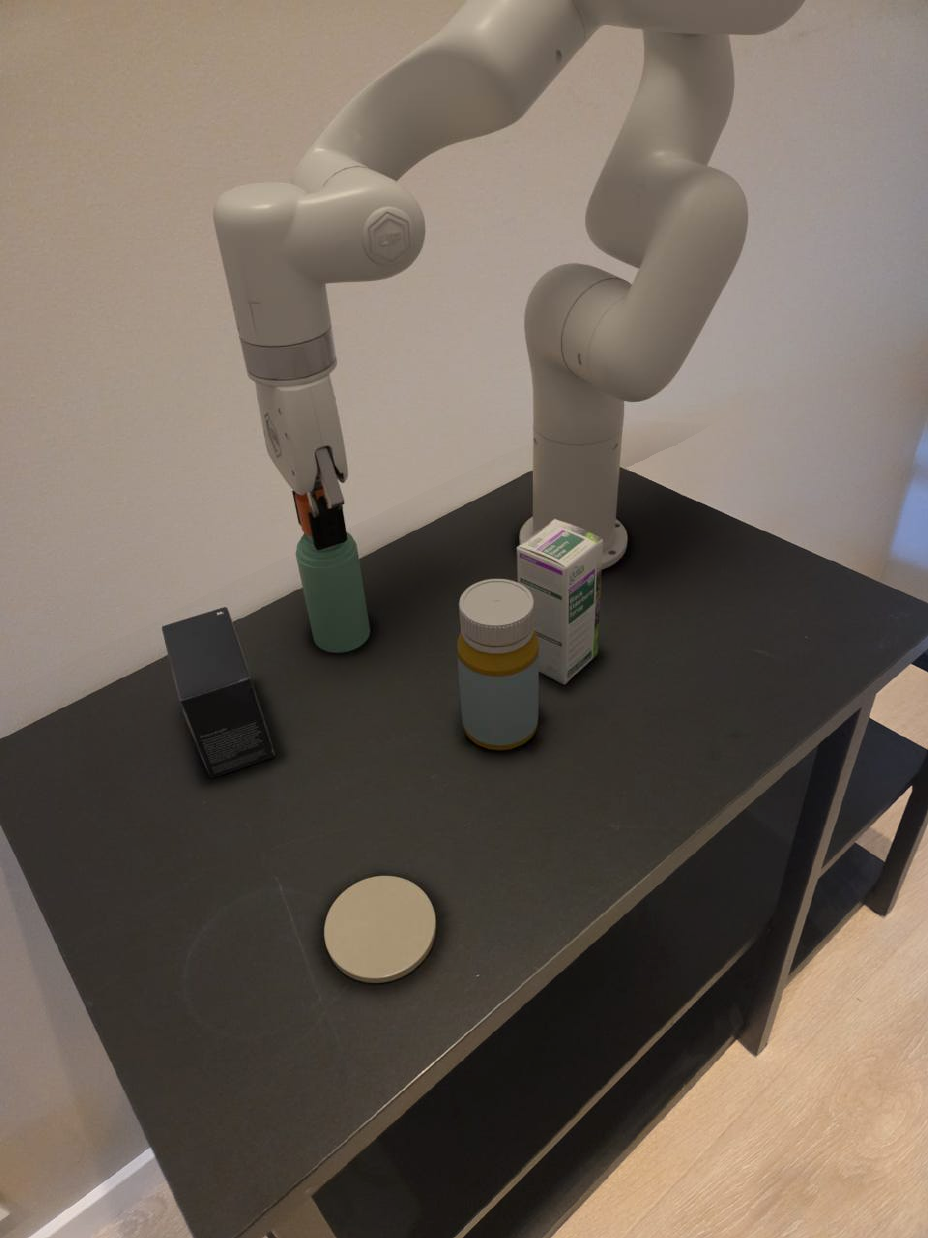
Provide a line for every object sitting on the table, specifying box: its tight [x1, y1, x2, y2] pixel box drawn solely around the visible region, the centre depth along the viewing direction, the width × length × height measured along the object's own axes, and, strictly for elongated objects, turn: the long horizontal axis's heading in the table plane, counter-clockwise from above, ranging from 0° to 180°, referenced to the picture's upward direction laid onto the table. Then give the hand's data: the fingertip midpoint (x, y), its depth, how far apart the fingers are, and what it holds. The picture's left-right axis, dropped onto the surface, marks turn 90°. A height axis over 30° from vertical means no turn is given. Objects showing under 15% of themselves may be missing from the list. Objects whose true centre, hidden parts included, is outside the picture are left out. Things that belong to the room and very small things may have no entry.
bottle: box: [456, 578, 540, 751], centre depth 76 cm, size 7×7×15 cm
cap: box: [295, 489, 324, 536], centre depth 82 cm, size 4×4×4 cm
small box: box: [161, 606, 276, 779], centre depth 79 cm, size 11×6×10 cm, turn 23°
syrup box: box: [516, 519, 603, 685], centre depth 83 cm, size 6×6×14 cm
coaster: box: [323, 875, 437, 984], centre depth 65 cm, size 8×8×1 cm
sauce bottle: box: [295, 531, 371, 654], centre depth 87 cm, size 6×6×17 cm
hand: (322, 531), depth 84 cm, fingers closed on cap, 3 cm apart
